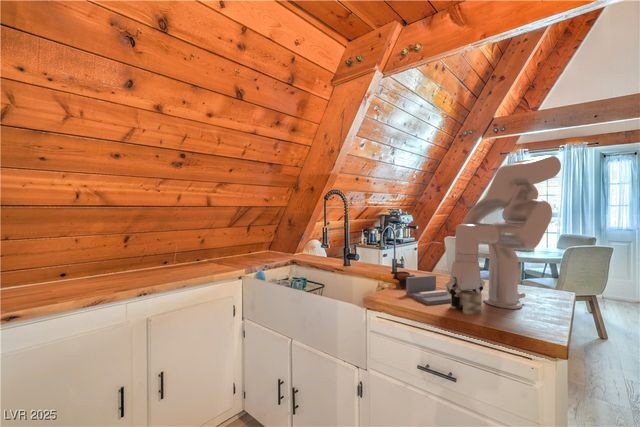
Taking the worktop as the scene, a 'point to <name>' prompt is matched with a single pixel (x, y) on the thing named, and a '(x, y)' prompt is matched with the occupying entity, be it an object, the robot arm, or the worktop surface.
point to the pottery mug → (401, 278)
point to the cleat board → (426, 290)
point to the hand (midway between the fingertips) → (465, 305)
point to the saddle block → (469, 301)
